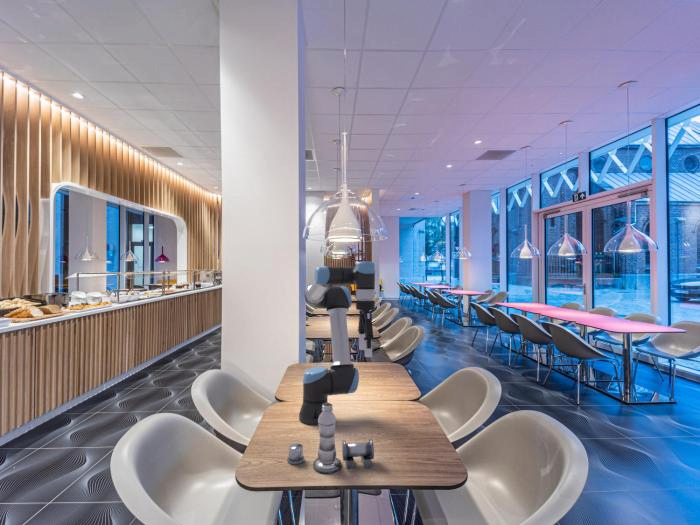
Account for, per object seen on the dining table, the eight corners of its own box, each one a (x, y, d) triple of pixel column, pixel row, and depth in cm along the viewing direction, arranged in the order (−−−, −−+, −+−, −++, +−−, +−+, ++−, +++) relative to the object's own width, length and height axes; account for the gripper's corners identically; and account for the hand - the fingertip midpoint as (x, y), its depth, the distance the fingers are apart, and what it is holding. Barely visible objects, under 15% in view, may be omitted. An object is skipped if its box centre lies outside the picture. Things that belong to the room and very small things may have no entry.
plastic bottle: (329, 468, 124) (330, 409, 125) (313, 463, 128) (314, 405, 129) (339, 460, 130) (340, 403, 130) (324, 455, 133) (324, 400, 134)
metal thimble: (283, 461, 131) (284, 447, 131) (294, 455, 136) (294, 441, 136) (296, 466, 128) (296, 452, 128) (307, 459, 133) (307, 445, 133)
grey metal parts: (313, 474, 123) (313, 450, 123) (312, 459, 132) (312, 437, 133) (375, 470, 126) (375, 446, 126) (369, 456, 135) (369, 434, 136)
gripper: (381, 301, 134) (381, 359, 133) (368, 298, 158) (368, 346, 157) (361, 302, 133) (361, 360, 132) (351, 298, 157) (351, 347, 156)
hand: (365, 353), depth 145 cm, fingers open, 13 cm apart
